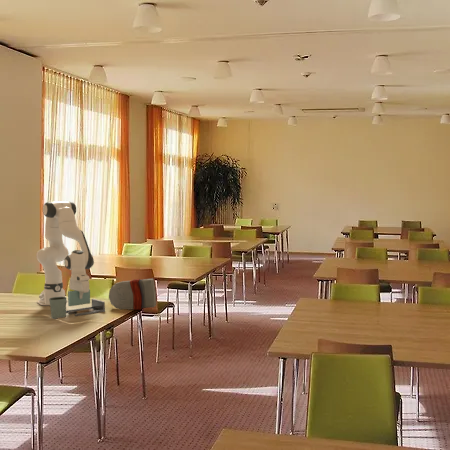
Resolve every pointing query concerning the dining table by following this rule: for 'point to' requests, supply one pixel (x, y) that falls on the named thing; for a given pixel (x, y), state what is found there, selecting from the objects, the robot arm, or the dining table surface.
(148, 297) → the decorative stone tablet
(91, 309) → the offcut walnut
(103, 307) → the offcut rack
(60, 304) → the grey-green bin
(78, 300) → the teal sheet
